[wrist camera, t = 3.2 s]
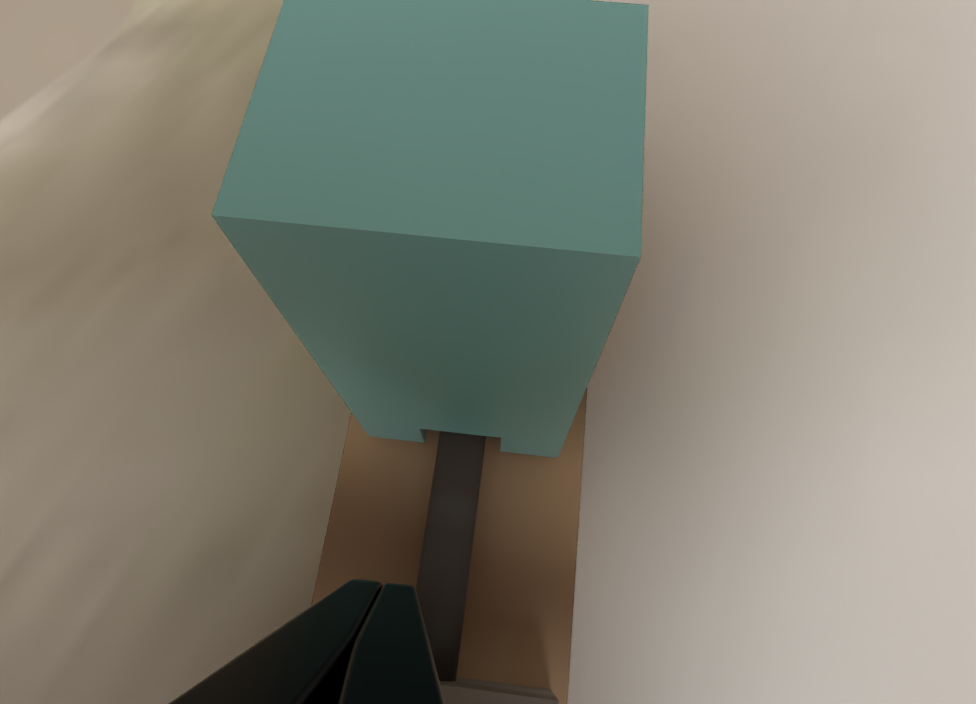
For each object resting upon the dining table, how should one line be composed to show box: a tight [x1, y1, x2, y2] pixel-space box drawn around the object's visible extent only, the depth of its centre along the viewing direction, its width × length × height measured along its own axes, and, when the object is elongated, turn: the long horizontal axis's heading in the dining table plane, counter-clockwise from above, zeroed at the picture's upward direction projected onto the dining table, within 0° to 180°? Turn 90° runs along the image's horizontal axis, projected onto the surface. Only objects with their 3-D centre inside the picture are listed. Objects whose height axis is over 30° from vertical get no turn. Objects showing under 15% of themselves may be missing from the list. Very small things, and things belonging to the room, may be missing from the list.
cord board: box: [311, 388, 587, 704], centre depth 18 cm, size 20×6×4 cm, turn 173°
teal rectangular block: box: [212, 0, 648, 458], centre depth 13 cm, size 4×5×10 cm
